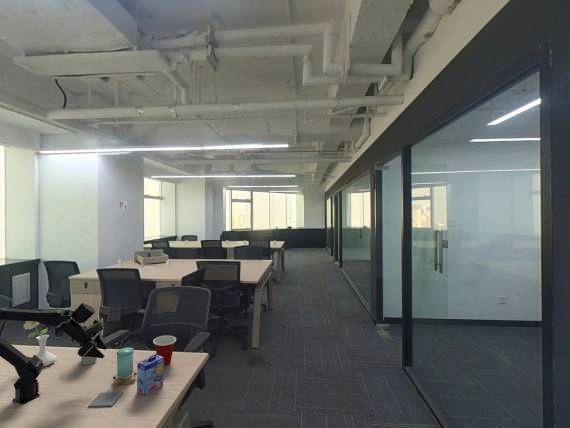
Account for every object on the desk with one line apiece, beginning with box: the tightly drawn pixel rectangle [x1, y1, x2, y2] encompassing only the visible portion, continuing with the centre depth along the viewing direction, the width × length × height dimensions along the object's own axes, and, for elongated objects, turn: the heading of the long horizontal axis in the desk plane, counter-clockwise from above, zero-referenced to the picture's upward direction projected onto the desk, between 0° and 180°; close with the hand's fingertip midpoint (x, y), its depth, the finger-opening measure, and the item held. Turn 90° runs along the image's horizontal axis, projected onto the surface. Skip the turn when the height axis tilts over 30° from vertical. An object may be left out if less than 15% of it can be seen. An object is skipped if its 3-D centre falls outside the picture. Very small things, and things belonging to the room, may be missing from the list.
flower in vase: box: [23, 321, 58, 367], centre depth 153 cm, size 13×11×25 cm
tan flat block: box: [112, 370, 137, 387], centre depth 138 cm, size 9×8×3 cm
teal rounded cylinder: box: [116, 347, 135, 377], centre depth 139 cm, size 7×7×10 cm
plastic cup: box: [152, 335, 177, 367], centre depth 154 cm, size 11×11×12 cm
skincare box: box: [80, 332, 100, 366], centre depth 157 cm, size 8×7×16 cm
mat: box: [87, 391, 124, 408], centre depth 123 cm, size 9×9×1 cm
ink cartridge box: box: [136, 353, 165, 396], centre depth 132 cm, size 10×6×14 cm, turn 152°
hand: (105, 352), depth 136 cm, fingers open, 9 cm apart
